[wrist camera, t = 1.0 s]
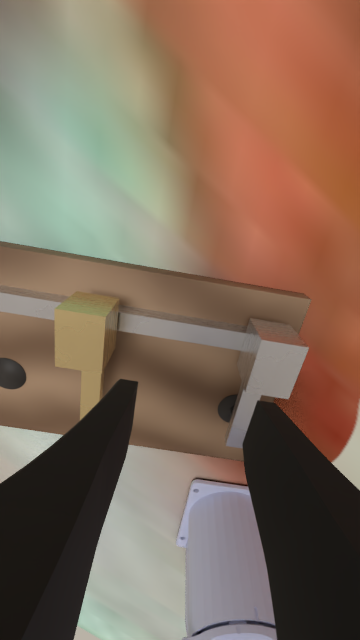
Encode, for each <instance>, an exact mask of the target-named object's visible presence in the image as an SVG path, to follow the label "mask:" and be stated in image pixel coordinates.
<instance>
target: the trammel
mask: <svg viewBox="0 0 360 640" xmlns="http://www.w3.org/2000/svg"><path fill="white" fill-rule="evenodd" d="M69 297H70V296H64V295H58V294H52V293H46V292H40V291H34V290H28V289H22V288H16V287H10V286H4V285H0V311H1V312H7V313H13V314H19V315H26V316H32V317H38V318H44V319H50V320H55V317H54V309H55V308H56V307H57V306H58V305H60V304H61V303H62V302H64V301H65V300H66V299H67V298H69ZM117 331H123V332H129V333H136V334H142V335H148V336H154V337H160V338H166V339H172V340H178V341H185V342H191V343H197V344H203V345H209V346H215V347H221V348H227V349H233V350H240V355H239V358H238V362H237V367H238V370H239V374H240V377H241V380H242V383H241V386H240V389H239V392H238V396H237V399H236V402H235V405H234V406H232V407H231V408H230V412H231V419H230V422H229V425H228V428H227V432H226V435H225V444H226V446H230V447H236V448H243V446H242V444H243V441H244V438H245V435H246V432H247V429H248V426H249V423H250V420H251V417H252V415H253V412H254V409H255V406H256V403H257V400H259V401H260V398H261V395H265V396H271V397H277V398H284V399H289V397H290V394H291V392H292V389H293V387H294V384H295V382H296V379H297V377H298V374H299V372H300V369H301V367H302V364H303V362H304V359H305V357H306V354H307V352H308V349H309V347H308V346H307V345H306V343H305V342H304V341H303V340H302V339H301V337H300V336H299V335H298V334H297V333H296V331H295V330H294V329H293V328H292V327H291V325H288V324H282V323H276V322H270V321H264V320H258V319H252V318H250V320H249V324H248V326H244V325H238V324H232V323H226V322H220V321H214V320H208V319H202V318H196V317H190V316H184V315H178V314H172V313H166V312H160V311H154V310H148V309H142V308H136V307H130V306H124V305H119V309H118V321H117Z"/></svg>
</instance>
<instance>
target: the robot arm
mask: <svg viewBox="0 0 360 640" xmlns="http://www.w3.org/2000/svg"><path fill="white" fill-rule="evenodd" d="M137 388H138V381H132V380H125V379H119V380H118V381H117V382H116V383H115V384H114V385H113V387H112V388H111V389H110V390H109V391H108V392H107V394H106V395H105V396H104V397H103V398H102V399H101V400H100V401H99V402H98V403H97V404H96V405H95V406H94V407H93V408H92V409H91V410H90V411H89V412H88V413H87V414H86V415H85V416H84V417H83V418H82V419H81V420H80V421H79V422H78V423H77V424H76V425H75V426H73V427H72V428H71V429H70V430H69V431H68V432H67V433H66V434H64V435H63V436H62V437H61V438H60V439H59V440H58V441H56V442H55V443H54V444H53V445H52V446H50V447H49V448H48V449H47V450H45V451H44V452H43V453H42V454H40V455H39V456H38V457H36V458H35V459H34V460H33V461H31V462H30V463H29V464H27V465H26V466H25V467H23V468H22V469H20V470H19V471H18V472H16V473H15V474H13V475H12V476H10V477H9V478H8V479H6V480H5V481H3V482H2V483H0V640H73V639H74V635H75V631H76V627H77V623H78V619H79V615H80V611H81V607H82V603H83V599H84V595H85V590H86V587H87V583H88V579H89V575H90V571H91V567H92V563H93V559H94V555H95V551H96V547H97V543H98V540H99V537H100V533H101V530H102V527H103V524H104V521H105V518H106V515H107V512H108V509H109V506H110V503H111V500H112V497H113V494H114V491H115V488H116V485H117V482H118V479H119V476H120V473H121V470H122V467H123V464H124V461H125V458H126V453H127V449H128V445H129V440H130V436H131V431H132V426H133V419H134V411H135V403H136V396H137ZM242 446H243V457H244V466H245V474H246V479H247V483H248V487H247V486H240V485H233V484H227V483H220V482H213V481H206V480H199V479H196V480H193V481H192V483H191V486H190V490H189V494H188V498H187V501H186V505H185V509H184V513H183V516H182V520H181V524H180V528H179V531H178V535H177V539H176V545H177V546H179V547H184V548H186V587H185V624H186V632H187V637H184V638H183V639H182V640H360V491H359V490H358V489H357V488H356V487H355V486H354V485H353V484H352V483H351V482H350V481H349V480H348V479H347V478H346V477H345V476H344V475H343V474H342V473H341V472H340V471H339V470H338V469H337V468H336V467H335V466H334V465H333V464H332V463H331V462H330V461H329V460H328V459H327V458H326V457H325V456H324V455H323V454H322V453H321V452H320V451H319V450H318V449H317V448H316V447H315V446H314V445H313V443H312V442H311V441H310V440H309V439H308V438H307V437H306V436H305V435H304V434H303V433H302V432H301V430H300V429H299V428H298V427H297V426H296V425H295V424H294V423H293V422H292V421H291V420H290V418H289V417H288V416H287V415H286V414H285V413H284V412H283V411H282V410H281V409H280V408H279V407H278V406H277V405H276V404H275V403H272V402H265V401H259V400H257V403H256V406H255V409H254V412H253V415H252V417H251V420H250V423H249V426H248V429H247V432H246V435H245V438H244V441H243V444H242Z"/></svg>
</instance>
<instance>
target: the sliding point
mask: <svg viewBox="0 0 360 640" xmlns="http://www.w3.org/2000/svg"><path fill="white" fill-rule="evenodd" d="M118 309H119V298H115V297H109V296H103V295H97V294H91V293H85V292H79V291H76V292H75V293H74V294H72V295H71V296H70V297H69V298H67V299H66V300H65V301H64V302H62V303H61V304H60V305H58V306H57V307H56V308H55V309H54V317H55V367H61V368H68V369H74V370H80V371H82V372H81V401H80V420H81V419H82V418H83V417H84V416H85V415H86V414H87V413H88V412H89V411H90V410H91V409H92V408H93V407H94V406H95V405H96V404H97V403H98V402H99V401H100V400H101V399H102V394H103V392H104V390H103V380H104V369H105V367H106V365H107V363H108V361H109V359H110V357H111V355H112V353H113V351H114V349H115V344H116V332H117V321H118Z"/></svg>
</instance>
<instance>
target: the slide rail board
mask: <svg viewBox="0 0 360 640" xmlns="http://www.w3.org/2000/svg"><path fill="white" fill-rule="evenodd" d="M0 285H4V286H10V287H16V288H22V289H28V290H34V291H40V292H46V293H52V294H58V295H64V296H71V295H72V294H74V293H75V292H76V291H79V292H85V293H91V294H97V295H103V296H109V297H115V298H119V305H124V306H130V307H136V308H142V309H148V310H154V311H160V312H166V313H172V314H178V315H184V316H190V317H196V318H202V319H208V320H214V321H220V322H226V323H232V324H238V325H244V326H248V324H249V320H250V318H252V319H258V320H264V321H270V322H276V323H282V324H288V325H291V327H292V328H293V329H294V330H295V331H296V333H297V334H299V332H300V329H301V326H302V324H303V321H304V318H305V316H306V313H307V310H308V308H309V305H310V302H311V299H310V298H309V297H307V296H306V295H305V294H302V293H296V292H291V291H285V290H279V289H273V288H267V287H262V286H256V285H250V284H244V283H239V282H233V281H227V280H221V279H215V278H210V277H204V276H198V275H192V274H187V273H181V272H175V271H169V270H163V269H158V268H152V267H146V266H140V265H134V264H129V263H123V262H117V261H111V260H106V259H100V258H94V257H88V256H82V255H77V254H71V253H65V252H59V251H54V250H48V249H42V248H36V247H30V246H25V245H19V244H13V243H7V242H1V241H0ZM239 355H240V350H233V349H227V348H221V347H215V346H209V345H203V344H197V343H191V342H185V341H178V340H172V339H166V338H160V337H154V336H148V335H142V334H136V333H129V332H123V331H117V332H116V344H115V349H114V351H113V353H112V355H111V357H110V359H109V361H108V363H107V365H106V367H105V369H104V380H103V390H104V392H103V394H102V398H103V397H104V396H105V395H106V394H107V392H108V391H109V390H110V389H111V388H112V387H113V385H114V384H115V383H116V382H117V381H118V380H119V379H125V380H132V381H138V388H137V396H136V403H135V411H134V419H133V426H132V431H131V436H130V440H129V445H136V446H143V447H150V448H156V449H163V450H170V451H177V452H183V453H190V454H197V455H204V456H210V457H217V458H224V459H231V460H237V461H244V457H243V448H236V447H230V446H226V444H225V435H226V432H227V428H228V425H229V422H230V419H231V412H230V408H231V407H232V406H234V405H235V402H236V399H237V396H238V392H239V389H240V386H241V383H242V380H241V377H240V374H239V370H238V367H237V362H238V358H239ZM81 372H82V371H80V370H74V369H68V368H61V367H55V320H50V319H44V318H38V317H32V316H26V315H19V314H13V313H7V312H1V311H0V425H1V426H8V427H15V428H22V429H28V430H35V431H42V432H49V433H55V434H62V435H64V434H66V433H67V432H68V431H69V430H70V429H71V428H72V427H73V426H75V425H76V424H77V423H78V422H79V421H80V401H81ZM274 399H275V397H271V396H265V395H261V398H260V401H265V402H272V403H273V401H274Z"/></svg>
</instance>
